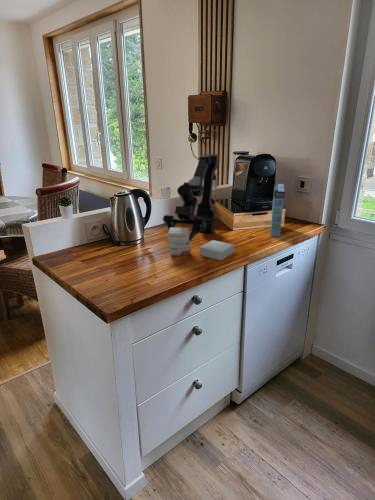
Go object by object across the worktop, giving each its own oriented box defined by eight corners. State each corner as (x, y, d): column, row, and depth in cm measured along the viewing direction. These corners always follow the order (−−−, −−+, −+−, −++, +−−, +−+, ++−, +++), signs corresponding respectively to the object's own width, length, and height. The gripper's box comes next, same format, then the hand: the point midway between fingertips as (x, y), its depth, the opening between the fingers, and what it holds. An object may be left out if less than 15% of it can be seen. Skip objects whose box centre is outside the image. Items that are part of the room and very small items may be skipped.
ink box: (190, 249, 150) (189, 227, 143) (189, 256, 146) (188, 233, 139) (171, 248, 151) (169, 226, 144) (169, 255, 147) (167, 233, 140)
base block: (199, 255, 147) (199, 247, 146) (212, 248, 156) (212, 239, 154) (221, 261, 141) (221, 252, 140) (233, 253, 150) (234, 244, 148)
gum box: (270, 225, 186) (274, 183, 178) (280, 225, 185) (284, 183, 177) (270, 236, 168) (273, 190, 160) (280, 237, 167) (284, 191, 159)
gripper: (163, 196, 146) (153, 228, 141) (204, 199, 140) (194, 232, 134) (171, 210, 156) (162, 240, 150) (210, 213, 149) (201, 245, 144)
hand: (179, 239), depth 144 cm, fingers closed on ink box, 9 cm apart
